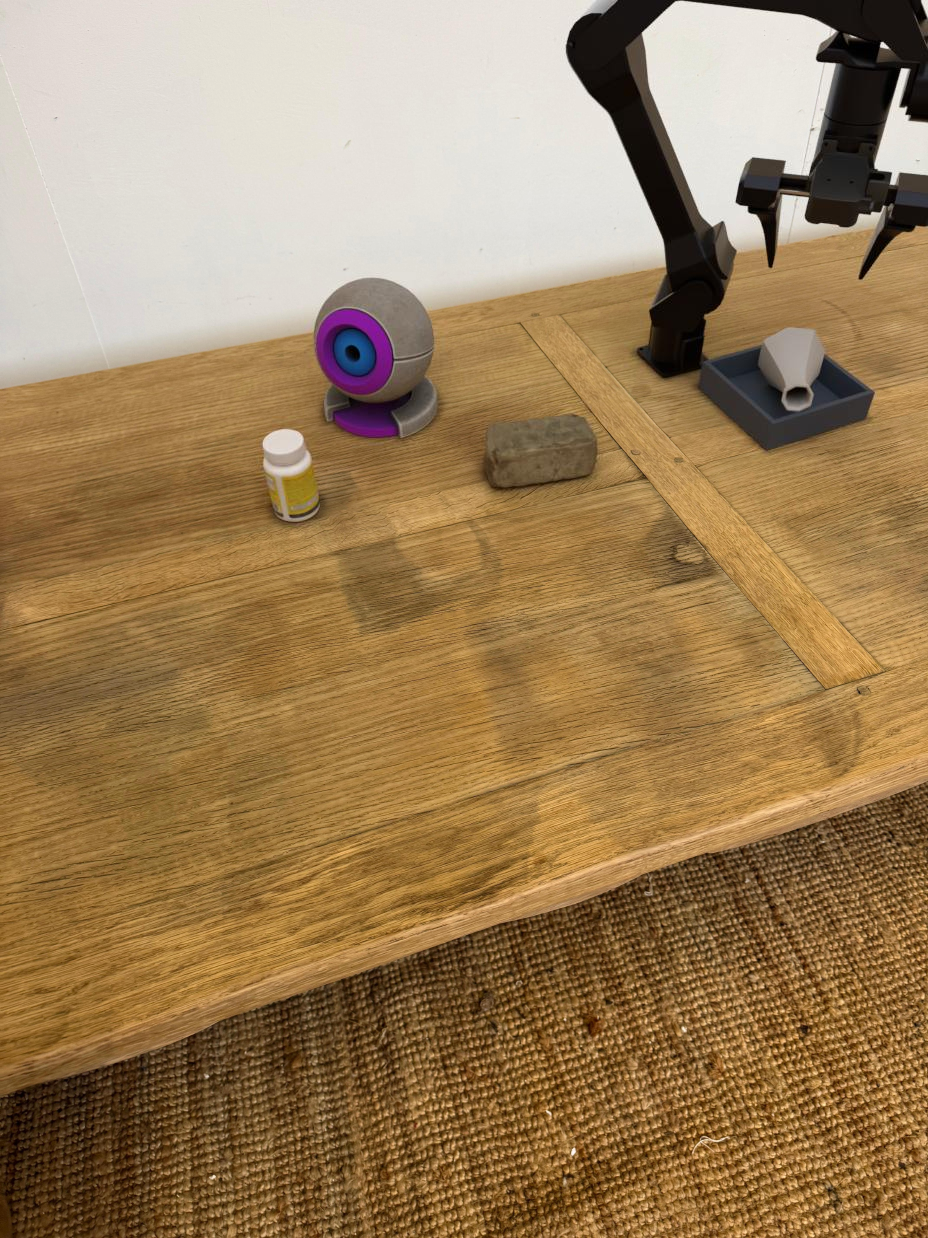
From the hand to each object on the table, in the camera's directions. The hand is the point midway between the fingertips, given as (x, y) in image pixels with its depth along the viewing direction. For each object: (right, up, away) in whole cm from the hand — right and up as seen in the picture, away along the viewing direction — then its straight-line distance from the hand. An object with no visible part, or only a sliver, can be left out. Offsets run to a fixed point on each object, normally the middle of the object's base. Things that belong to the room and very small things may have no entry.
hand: (814, 271), depth 100 cm
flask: (-1, -7, +6) cm, 9 cm away
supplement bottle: (-54, -26, -4) cm, 60 cm away
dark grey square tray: (-2, -13, +6) cm, 14 cm away
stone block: (-30, -21, 0) cm, 36 cm away
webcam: (-47, -13, +8) cm, 49 cm away
